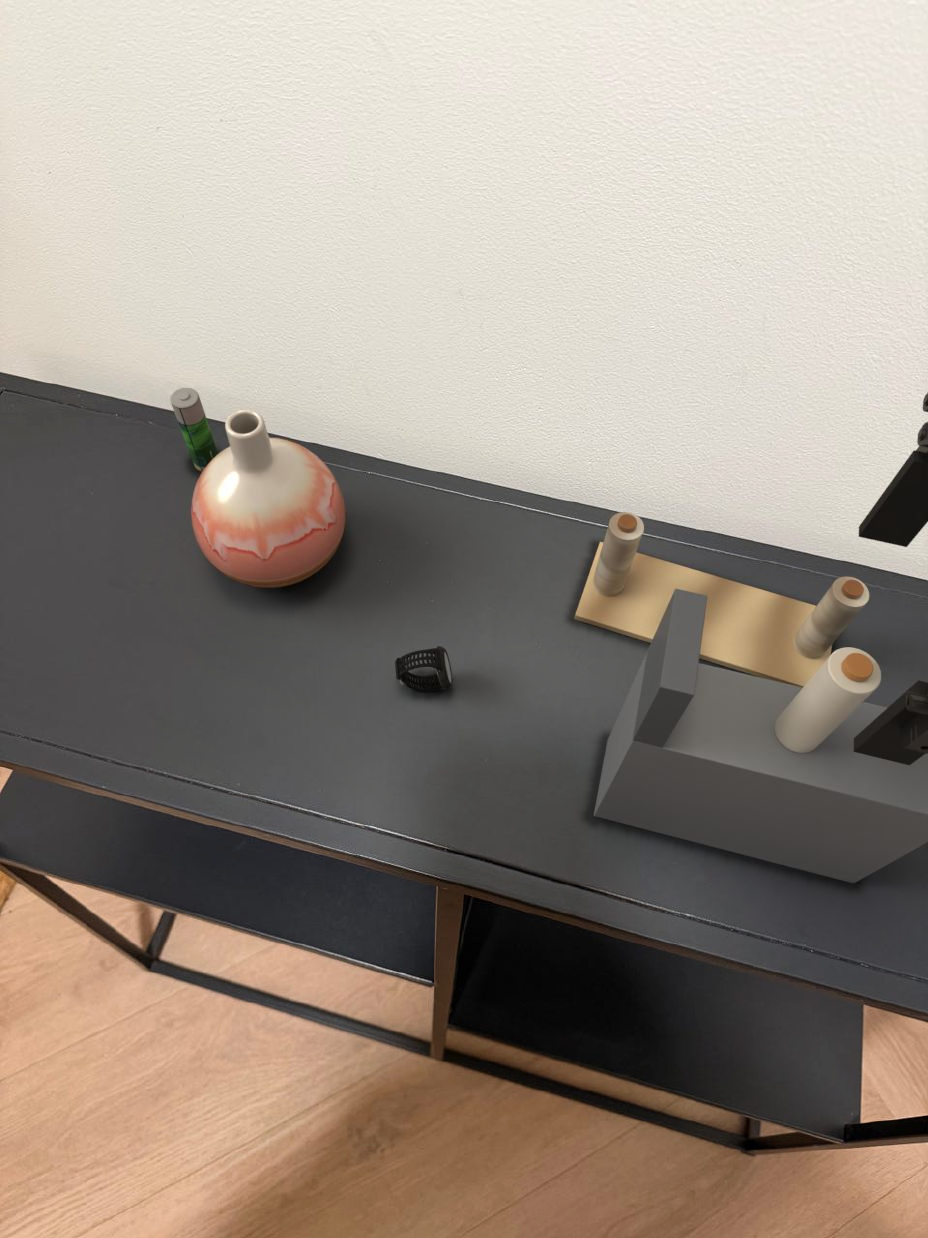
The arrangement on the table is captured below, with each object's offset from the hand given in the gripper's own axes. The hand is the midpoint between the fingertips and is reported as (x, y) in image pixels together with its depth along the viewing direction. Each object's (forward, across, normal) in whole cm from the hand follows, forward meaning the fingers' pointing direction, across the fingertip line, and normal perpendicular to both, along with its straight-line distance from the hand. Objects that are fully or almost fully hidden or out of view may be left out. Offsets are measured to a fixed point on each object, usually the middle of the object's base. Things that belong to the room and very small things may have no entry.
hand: (881, 636), depth 45 cm
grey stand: (+28, 0, 0) cm, 29 cm away
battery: (+29, -23, -56) cm, 67 cm away
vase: (+29, -14, -44) cm, 55 cm away
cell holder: (+29, -18, -4) cm, 34 cm away
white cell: (+12, 0, 0) cm, 13 cm away
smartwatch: (+29, -4, -27) cm, 40 cm away
